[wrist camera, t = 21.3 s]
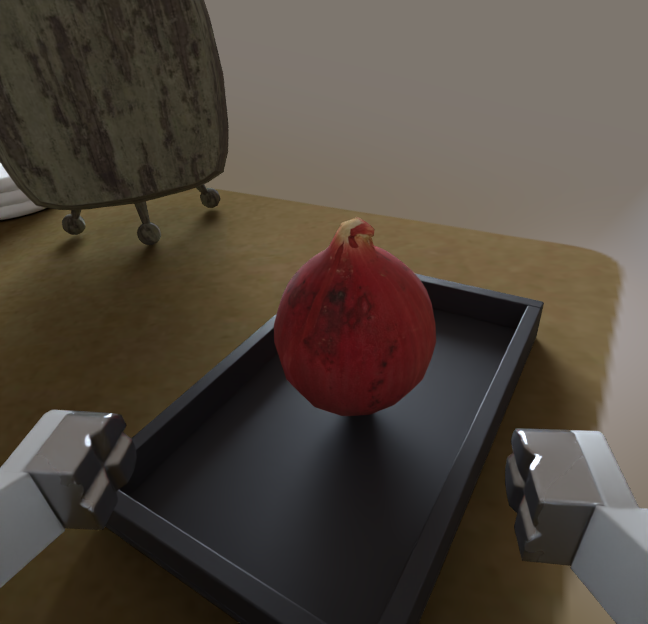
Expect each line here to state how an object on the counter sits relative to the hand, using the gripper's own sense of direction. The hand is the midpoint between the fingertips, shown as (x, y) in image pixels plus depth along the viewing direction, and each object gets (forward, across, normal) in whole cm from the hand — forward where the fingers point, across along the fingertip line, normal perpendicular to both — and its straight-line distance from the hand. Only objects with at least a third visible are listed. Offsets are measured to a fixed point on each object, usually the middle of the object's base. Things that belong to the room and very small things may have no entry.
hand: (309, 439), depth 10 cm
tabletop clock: (+26, +17, +7) cm, 31 cm away
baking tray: (+8, 0, +7) cm, 10 cm away
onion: (+7, 0, +7) cm, 10 cm away
